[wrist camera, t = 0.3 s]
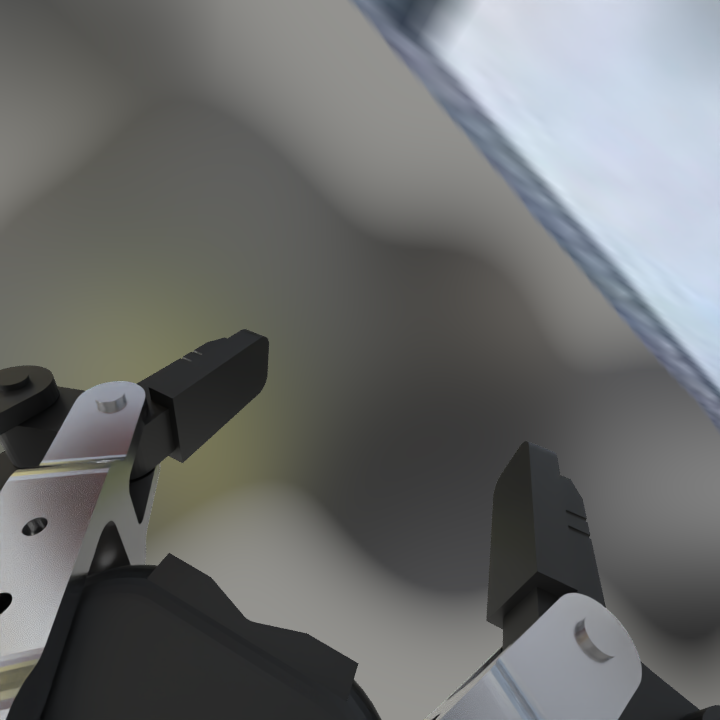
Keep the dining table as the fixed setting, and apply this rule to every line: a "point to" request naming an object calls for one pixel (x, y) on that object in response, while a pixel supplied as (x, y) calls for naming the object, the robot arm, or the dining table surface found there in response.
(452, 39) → the dining table surface
